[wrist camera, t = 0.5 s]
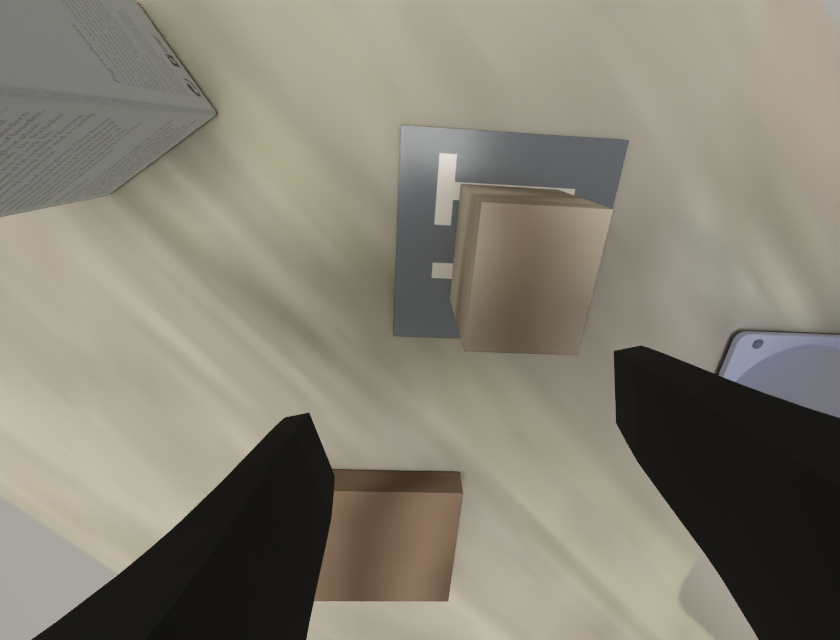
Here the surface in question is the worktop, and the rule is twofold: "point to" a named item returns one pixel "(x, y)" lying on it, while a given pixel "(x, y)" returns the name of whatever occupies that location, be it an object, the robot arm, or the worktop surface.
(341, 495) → the walnut board
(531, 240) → the birch block
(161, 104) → the skincare box
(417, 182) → the slate tile
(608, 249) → the worktop surface
